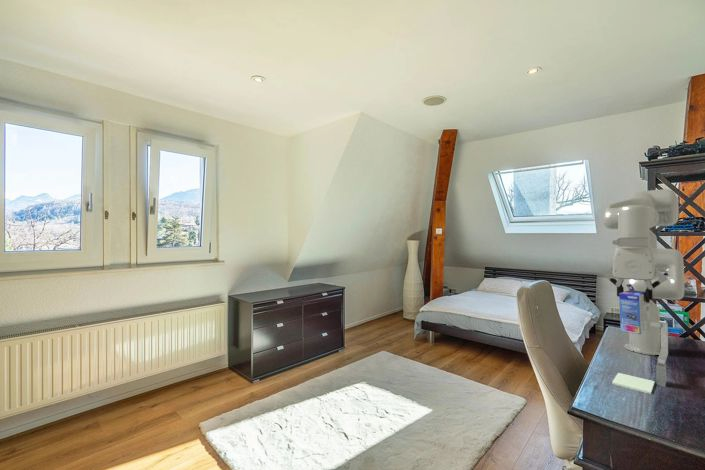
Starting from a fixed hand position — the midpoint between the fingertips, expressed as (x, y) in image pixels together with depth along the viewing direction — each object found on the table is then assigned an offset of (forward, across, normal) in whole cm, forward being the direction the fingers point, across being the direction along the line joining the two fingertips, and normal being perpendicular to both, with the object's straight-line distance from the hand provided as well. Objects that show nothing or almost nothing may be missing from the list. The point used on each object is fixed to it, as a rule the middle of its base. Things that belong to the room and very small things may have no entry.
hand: (634, 299), depth 102 cm
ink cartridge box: (+10, 0, 0) cm, 10 cm away
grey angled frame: (+20, +1, +14) cm, 24 cm away
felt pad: (+27, 0, 0) cm, 27 cm away
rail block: (+27, +6, +6) cm, 28 cm away
